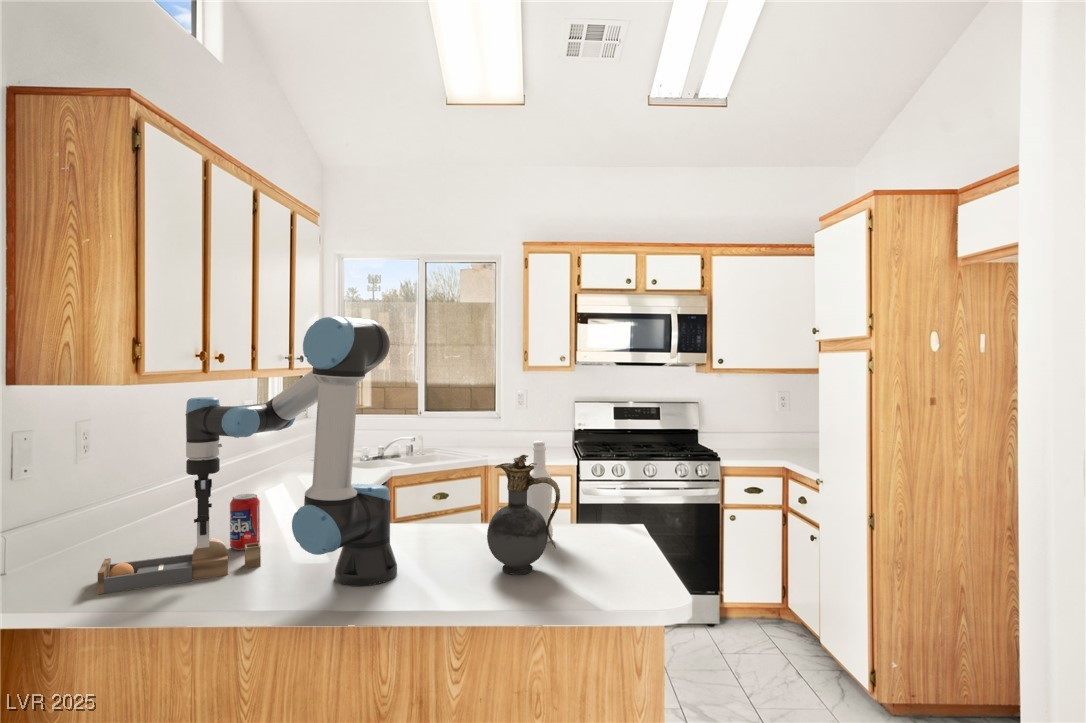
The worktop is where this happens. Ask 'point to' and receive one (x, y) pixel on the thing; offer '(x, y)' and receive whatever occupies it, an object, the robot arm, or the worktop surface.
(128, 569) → the ball
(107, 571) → the backstop
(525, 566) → the pitcher
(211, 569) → the tan rounded block
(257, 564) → the hollow wooden sleeve
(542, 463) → the bottle
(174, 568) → the tray
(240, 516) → the soda can
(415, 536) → the worktop surface
